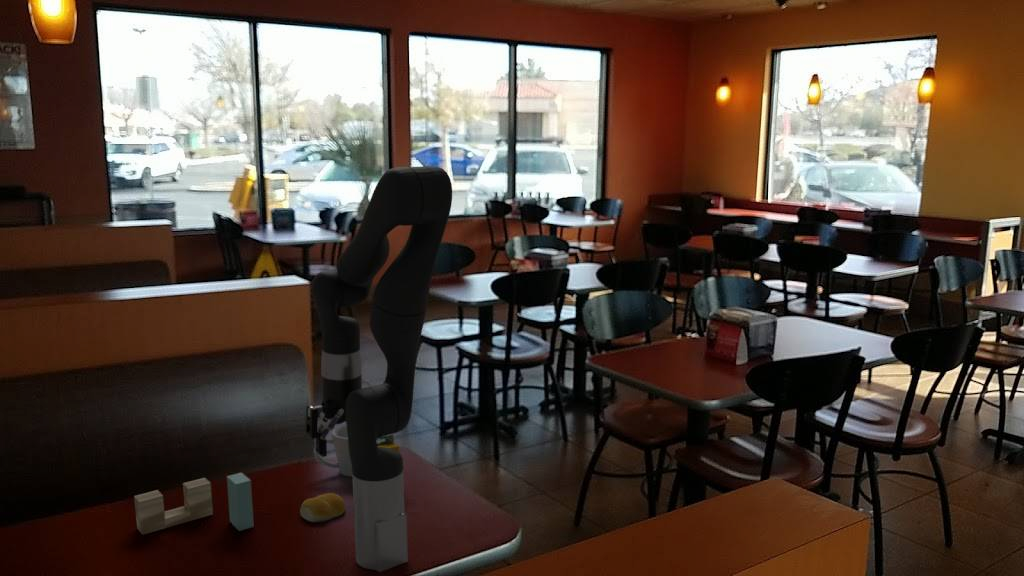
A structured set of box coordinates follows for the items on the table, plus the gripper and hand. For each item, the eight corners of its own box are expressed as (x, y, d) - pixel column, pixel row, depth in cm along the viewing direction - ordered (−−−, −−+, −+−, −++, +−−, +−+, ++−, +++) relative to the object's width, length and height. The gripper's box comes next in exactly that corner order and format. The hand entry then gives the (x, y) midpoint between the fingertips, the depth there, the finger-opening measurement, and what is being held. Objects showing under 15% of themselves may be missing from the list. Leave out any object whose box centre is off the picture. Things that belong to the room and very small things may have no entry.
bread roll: (352, 512, 171) (351, 494, 170) (316, 527, 165) (315, 508, 164) (330, 500, 177) (329, 483, 176) (293, 514, 170) (292, 496, 170)
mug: (382, 475, 189) (381, 434, 187) (317, 485, 184) (315, 443, 182) (373, 459, 199) (371, 420, 197) (311, 468, 193) (309, 428, 191)
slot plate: (212, 514, 170) (210, 482, 169) (142, 534, 161) (139, 502, 160) (207, 508, 173) (204, 477, 171) (137, 528, 164) (134, 496, 163)
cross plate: (253, 526, 165) (250, 480, 163) (239, 531, 163) (235, 484, 161) (244, 517, 168) (241, 472, 167) (230, 522, 167) (226, 476, 165)
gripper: (316, 384, 148) (317, 466, 152) (384, 370, 157) (384, 447, 161) (298, 373, 154) (300, 452, 157) (364, 359, 162) (365, 435, 166)
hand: (342, 450), depth 159 cm, fingers open, 8 cm apart
